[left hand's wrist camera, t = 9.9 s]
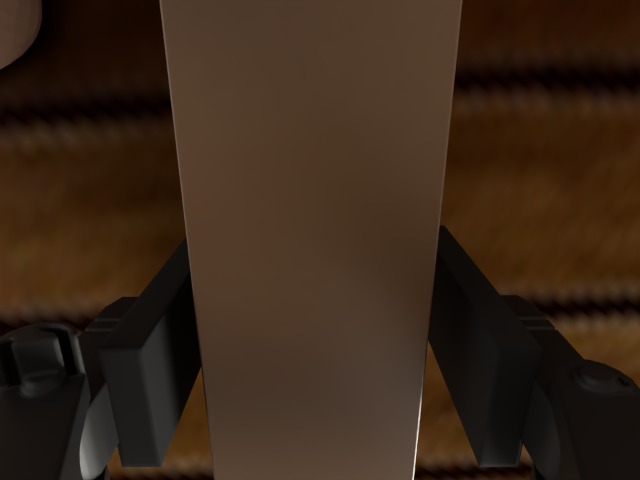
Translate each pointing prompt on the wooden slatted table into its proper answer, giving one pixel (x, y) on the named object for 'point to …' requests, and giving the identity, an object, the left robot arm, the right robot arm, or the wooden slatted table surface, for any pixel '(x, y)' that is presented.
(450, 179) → the wooden slatted table surface
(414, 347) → the bar
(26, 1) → the anatomical model
